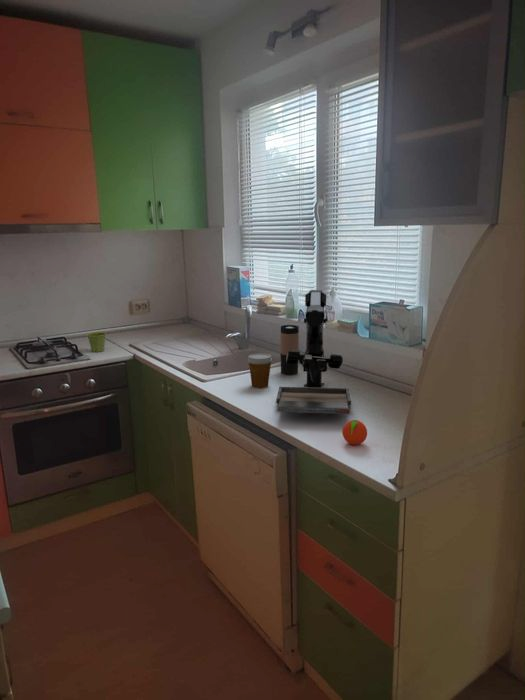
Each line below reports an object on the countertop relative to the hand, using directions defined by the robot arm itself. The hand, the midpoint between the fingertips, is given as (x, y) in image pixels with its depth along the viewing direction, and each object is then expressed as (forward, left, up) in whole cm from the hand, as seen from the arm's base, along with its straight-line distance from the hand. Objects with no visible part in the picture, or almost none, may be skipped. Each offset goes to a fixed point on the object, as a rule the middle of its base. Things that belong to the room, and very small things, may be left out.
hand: (313, 382), depth 173 cm
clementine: (+23, +21, -10) cm, 33 cm away
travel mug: (-38, -25, -10) cm, 47 cm away
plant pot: (-35, -129, -10) cm, 134 cm away
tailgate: (+2, +1, -7) cm, 7 cm away
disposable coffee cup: (-16, -28, -10) cm, 34 cm away
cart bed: (-4, -2, -9) cm, 11 cm away
